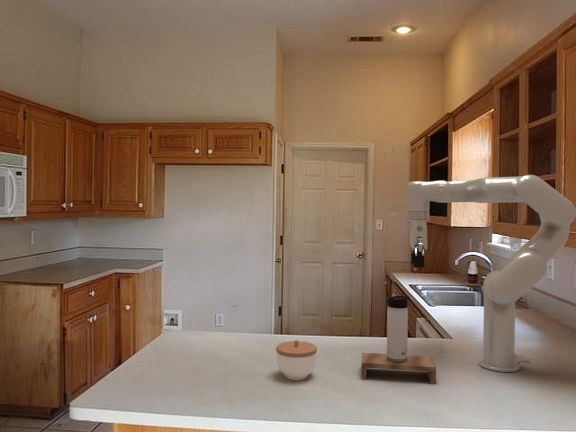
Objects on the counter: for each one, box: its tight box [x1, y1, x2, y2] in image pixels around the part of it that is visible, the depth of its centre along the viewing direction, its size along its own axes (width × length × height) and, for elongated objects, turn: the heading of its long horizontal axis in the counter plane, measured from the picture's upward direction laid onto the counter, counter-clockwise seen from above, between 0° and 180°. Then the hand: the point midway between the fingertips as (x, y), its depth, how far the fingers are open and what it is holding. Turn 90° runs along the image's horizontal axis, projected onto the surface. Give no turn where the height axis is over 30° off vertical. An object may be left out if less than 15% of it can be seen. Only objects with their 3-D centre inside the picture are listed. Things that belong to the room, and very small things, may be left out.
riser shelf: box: [360, 352, 437, 385], centre depth 143 cm, size 22×10×5 cm, turn 80°
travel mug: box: [386, 295, 410, 363], centre depth 143 cm, size 6×7×20 cm
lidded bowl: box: [275, 339, 318, 381], centre depth 142 cm, size 13×13×11 cm
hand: (417, 265), depth 160 cm, fingers open, 9 cm apart
